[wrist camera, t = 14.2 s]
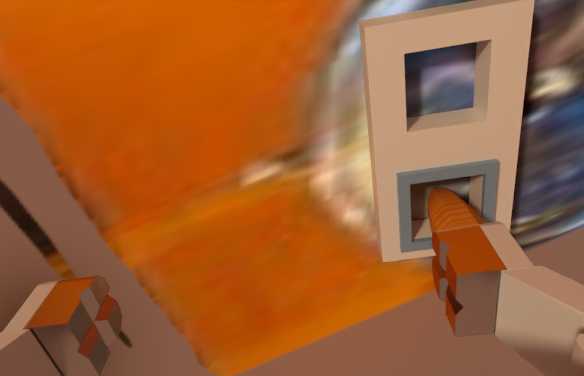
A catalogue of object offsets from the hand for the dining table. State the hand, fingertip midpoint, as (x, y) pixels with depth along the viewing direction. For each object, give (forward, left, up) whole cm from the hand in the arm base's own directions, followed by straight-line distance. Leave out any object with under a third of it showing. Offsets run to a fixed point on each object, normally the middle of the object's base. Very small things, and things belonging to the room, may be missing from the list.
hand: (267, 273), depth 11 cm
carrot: (-14, +20, -34) cm, 42 cm away
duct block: (-14, +14, -34) cm, 39 cm away
